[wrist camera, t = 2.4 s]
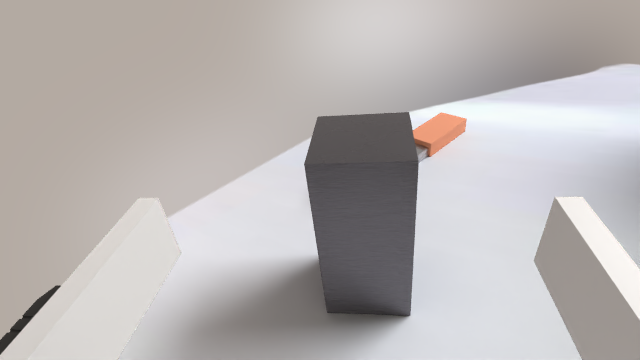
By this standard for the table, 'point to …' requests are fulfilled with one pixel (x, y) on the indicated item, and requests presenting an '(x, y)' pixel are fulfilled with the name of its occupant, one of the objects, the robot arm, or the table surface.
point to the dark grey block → (364, 210)
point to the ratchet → (437, 134)
